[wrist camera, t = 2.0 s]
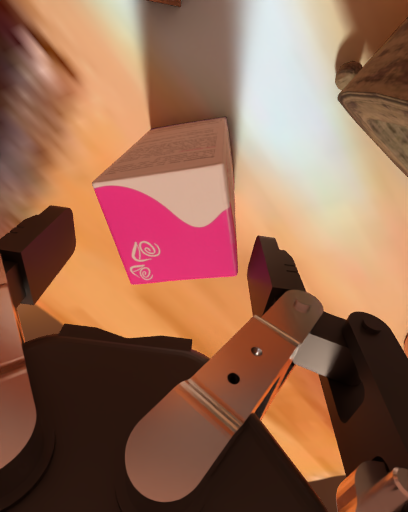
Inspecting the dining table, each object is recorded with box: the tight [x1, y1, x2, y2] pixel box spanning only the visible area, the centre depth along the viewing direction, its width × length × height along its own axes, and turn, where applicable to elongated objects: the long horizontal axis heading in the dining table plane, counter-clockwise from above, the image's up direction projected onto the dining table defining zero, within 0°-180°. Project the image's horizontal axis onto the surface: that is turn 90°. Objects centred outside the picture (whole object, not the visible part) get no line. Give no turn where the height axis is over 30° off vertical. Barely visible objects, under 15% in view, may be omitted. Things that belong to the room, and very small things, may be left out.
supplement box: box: [92, 117, 238, 284], centre depth 18 cm, size 6×6×12 cm
